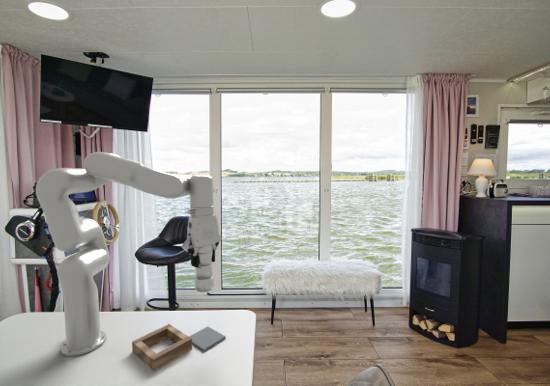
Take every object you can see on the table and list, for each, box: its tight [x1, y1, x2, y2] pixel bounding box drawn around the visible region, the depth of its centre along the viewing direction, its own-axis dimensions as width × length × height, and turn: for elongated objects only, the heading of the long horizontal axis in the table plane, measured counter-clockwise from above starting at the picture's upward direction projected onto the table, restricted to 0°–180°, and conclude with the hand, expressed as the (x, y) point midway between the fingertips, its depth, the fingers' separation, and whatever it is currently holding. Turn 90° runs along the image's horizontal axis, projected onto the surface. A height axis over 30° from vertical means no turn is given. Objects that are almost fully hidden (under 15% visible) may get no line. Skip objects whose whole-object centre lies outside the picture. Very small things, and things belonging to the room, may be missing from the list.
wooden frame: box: [131, 323, 193, 372], centre depth 89 cm, size 14×13×4 cm
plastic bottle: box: [193, 245, 215, 293], centre depth 92 cm, size 6×7×20 cm
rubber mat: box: [189, 326, 226, 353], centre depth 94 cm, size 10×9×1 cm
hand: (203, 263), depth 92 cm, fingers closed on plastic bottle, 6 cm apart
